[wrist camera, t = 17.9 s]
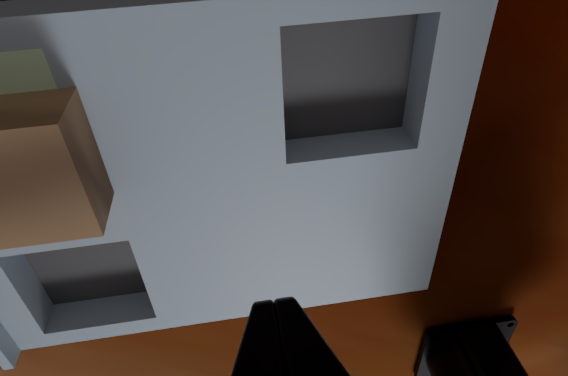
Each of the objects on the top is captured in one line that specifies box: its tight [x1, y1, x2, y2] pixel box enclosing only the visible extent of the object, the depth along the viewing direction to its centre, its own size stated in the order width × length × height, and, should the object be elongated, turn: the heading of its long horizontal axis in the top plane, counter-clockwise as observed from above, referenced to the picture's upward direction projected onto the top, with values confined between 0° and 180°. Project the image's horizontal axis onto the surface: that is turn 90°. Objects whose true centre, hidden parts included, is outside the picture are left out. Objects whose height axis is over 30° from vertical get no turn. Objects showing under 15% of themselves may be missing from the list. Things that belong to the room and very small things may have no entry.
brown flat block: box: [0, 87, 114, 250], centre depth 15 cm, size 4×4×2 cm
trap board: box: [0, 0, 498, 370], centre depth 19 cm, size 16×22×3 cm
